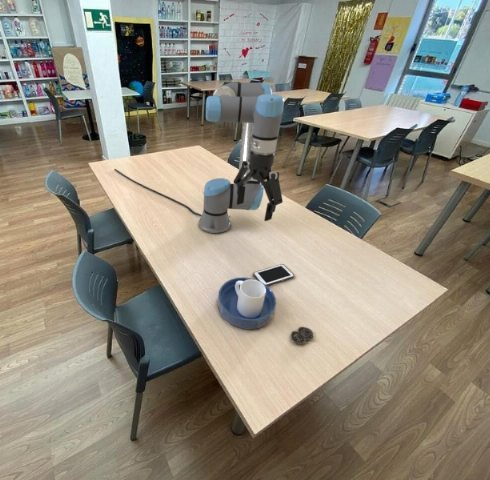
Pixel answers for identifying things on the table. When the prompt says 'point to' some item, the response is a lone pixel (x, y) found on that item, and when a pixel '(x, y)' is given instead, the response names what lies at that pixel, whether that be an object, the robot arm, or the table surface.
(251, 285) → the mug
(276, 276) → the cell phone
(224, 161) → the table surface
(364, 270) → the table surface
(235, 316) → the bowl
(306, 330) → the corroded twin loop
